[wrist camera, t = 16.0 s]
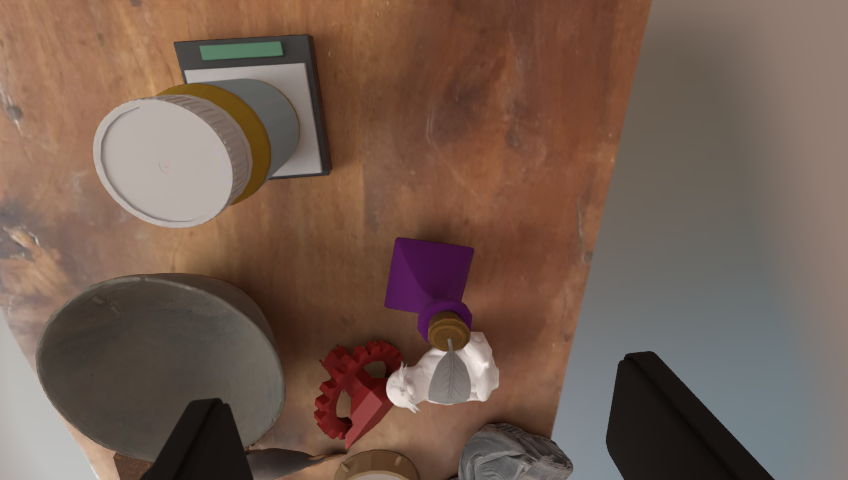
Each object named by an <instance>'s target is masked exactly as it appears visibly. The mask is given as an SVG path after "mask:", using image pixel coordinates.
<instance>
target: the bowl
mask: <svg viewBox="0 0 848 480" xmlns="http://www.w3.org/2000/svg"><path fill="white" fill-rule="evenodd" d="M36 367H37V374H38V377H39V380H40V383H41V385H42V387H43V390H44V392H45V393H46V395H47V397H48V399H49V400H50V402H51V403H52V405H53V406H54V407H55V408H56V409H57V411H58V412H59V413H60V414H61V415H62V416H63V417H64V418H65V419H66V420H67V421H68V422H69V423H70V424H71V425H73V426H74V427H75V428H76V429H77V430H79V431H80V432H81V433H82V434H84V435H85V436H87V437H88V438H90V439H91V440H93V441H94V442H96V443H98V444H99V445H101V446H103V447H105V448H108V449H110V450H112V451H116V452H117V453H119V454H122V455H126V456H129V457H133V458H136V459H142V460H145V461H150V462H155V460H156V458H157V457H158V455H159V453H160V451H161V450H162V448H163V446H164V445H165V443H166V441H167V439H168V438H169V436H170V434H171V433H172V431H173V429H174V427H175V426H176V424H177V422H178V421H179V419H180V417H181V415H182V414H183V412H184V410H185V409H186V407H187V405H188V404H189V403H190V402H191V401H192V400H200V399H209V398H220V399H221V400H222V402H223V404H224V403H228V404H229V405H230V407H231V410H232V413H233V417H234V420H235V423H236V426H237V429H238V432H239V435H240V438H241V441H242V444H243V447H244V449H246V448H248V447H249V446H251V445H252V444H254V443H255V442H256V441H258V440H259V439H260V438H261V437H262V436H263V435H264V434H265V433H267V432H268V431H269V429H270V428H271V427H272V426H273V424H274V423H275V422H276V421H277V419H278V418H279V416H280V414H281V412H282V409H283V406H284V402H285V393H286V389H285V379H284V371H283V366H282V362H281V359H280V355H279V352H278V348H277V345H276V342H275V339H274V336H273V333H272V331H271V328H270V326H269V324H268V322H267V320H266V318H265V316H264V315H263V313H262V311H261V310H260V308H259V307H258V305H257V304H256V303H255V302H254V301H253V300H252V299H251V298H250V297H249V296H248V295H247V294H246V293H244V292H243V291H241V290H240V289H238V288H237V287H235V286H233V285H231V284H229V283H227V282H225V281H222V280H219V279H215V278H211V277H207V276H203V275H196V274H186V273H160V274H138V275H129V276H123V277H118V278H114V279H110V280H107V281H103V282H100V283H97V284H95V285H92V286H90V287H88V288H87V289H85V290H83V291H82V292H81V293H79V294H78V295H77V296H75V297H73V298H71V299H70V300H69V301H67V302H66V303H65V304H64V305H63V306H62V307H61V308H59V309H58V310H57V311H56V312H55V313H53V314H52V316H51V317H50V318H49V320H48V321H47V322H46V325H45V327H44V329H43V332H42V334H41V336H40V339H39V341H38V344H37V348H36Z"/></svg>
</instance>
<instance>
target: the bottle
mask: <svg viewBox="0 0 848 480" xmlns="http://www.w3.org/2000/svg"><path fill="white" fill-rule="evenodd" d="M299 139H300V123H299V119H298V116H297V112H296V110H295V108H294V107H293V105H292V104H291V102H290V100H289V99H288V98H287V97H286V96H285V95H284V94H283V93H282V92H281V91H280V90H278V89H277V88H276V87H274V86H272V85H270V84H268V83H266V82H264V81H261V80H255V79H247V78H242V79H231V80H219V81H208V82H197V83H189V84H183V85H178V86H174V87H171V88H168V89H166V90H165V91H163V92H161V93H160V94H158V95H156V96H153V97H146V98H138V99H135V100H131V101H130V102H125V103H123V105H120V106H117V108H115V109H114V110H112V111H111V112H110V113H109V114H108V115H107V116H106V117H105V118H104V119H103V121H102V122H101V123H100V125H99V127H98V129H97V132H96V134H95V138H94V144H93V156H94V163H95V167H96V170H97V173H98V175H99V178H100V180H101V182H102V183H103V185H104V187H105V188H106V190H107V191H108V192H109V194H110V195H111V196H112V197H113V198H114V199H115V201H116V202H117V203H119V204H120V205H121V206H122V207H123V208H124V209H126V210H127V211H128V212H130V213H131V214H133V215H134V216H136V217H138V218H140V219H142V220H144V221H146V222H149V223H152V224H155V225H158V226H163V227H169V228H186V227H192V226H196V225H200V224H202V223H206V222H207V221H208V220H212V219H213V218H214V217H216V216H218V215H219V214H220V213H221V212H222V211H223V210H224V209H226V208H227V207H228V206H229V205H234V204H237V203H239V202H241V201H242V200H244V199H246V198H248V197H249V196H251V195H252V194H253V193H255V192H256V191H257V190H258V189H259V188H260V187H261V186H262V185H263V184H264V183H265V182H266V181H267V180H268V179H269V178H270V177H271V176H272V175H273V174H274V173H275V172H276V171H277V170H279V169H280V168H281V167H282V166H283V165H284V164H285V163H286V162H287V161H288V159H289V158H290V157H291V156H292V155H293V153H294V152H295V150H296V148H297V145H298V142H299Z"/></svg>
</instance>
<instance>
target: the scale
mask: <svg viewBox="0 0 848 480" xmlns="http://www.w3.org/2000/svg"><path fill="white" fill-rule="evenodd" d="M174 46H175V50H176V53H177V57H178V61H179V65H180V68H181V72H182V76H183V79H184V83H185V84H189V83H197V82H208V81H219V80H231V79H242V78H247V79H255V80H261V81H264V82H266V83H268V84H270V85H272V86H274V87H276V88H277V89H278V90H280V91H281V92H282V93H283V94H284V95H285V96H286V97H287V98H288V99H289V100H290V102H291V104H292V105H293V107H294V108H295V110H296V112H297V116H298V119H299V123H300V139H299V142H298V145H297V148H296V150H295V152H294V153H293V155H292V156H291V157H290V158H289V159H288V161H287V162H286V163H285V164H284V165H283V166H282V167H281V168H280V169H279V170H277V171H276V172H275V173H274V174H273V175H272V176H271V177H270V178H269V179H268V180H272V179H285V178H298V177H311V176H324V175H329V174H330V172H331V170H332V165H331V158H330V152H329V145H328V138H327V132H326V125H325V118H324V111H323V105H322V98H321V91H320V84H319V78H318V71H317V64H316V57H315V51H314V44H313V37H312V36H310V35H307V34H304V35H286V36H269V37H251V38H234V39H216V40H199V41H181V42H174Z"/></svg>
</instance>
